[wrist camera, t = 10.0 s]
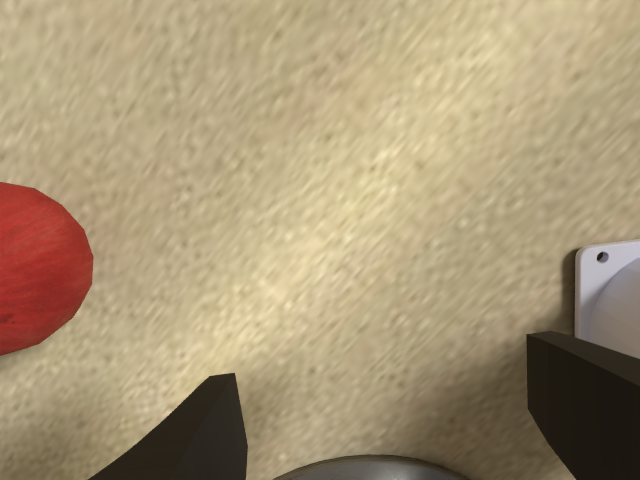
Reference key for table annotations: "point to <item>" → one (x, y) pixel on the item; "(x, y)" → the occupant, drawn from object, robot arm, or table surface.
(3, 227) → the onion
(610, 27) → the table surface
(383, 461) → the disc with square hole
